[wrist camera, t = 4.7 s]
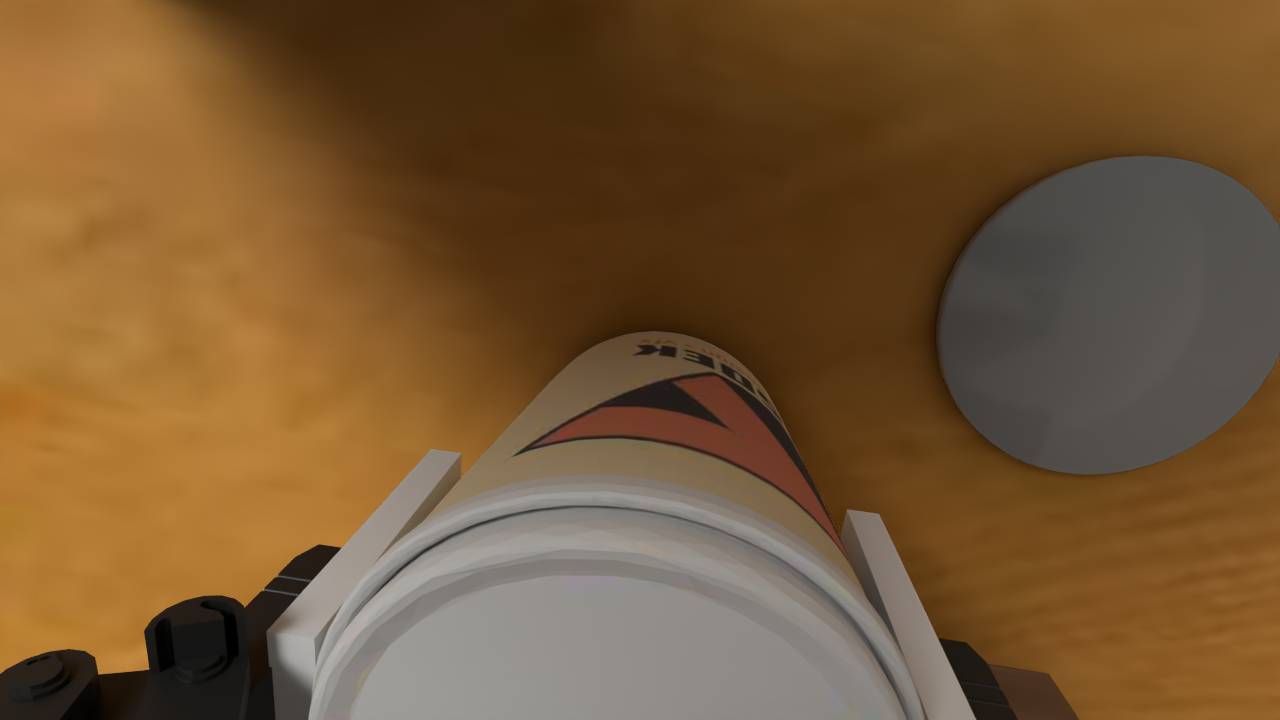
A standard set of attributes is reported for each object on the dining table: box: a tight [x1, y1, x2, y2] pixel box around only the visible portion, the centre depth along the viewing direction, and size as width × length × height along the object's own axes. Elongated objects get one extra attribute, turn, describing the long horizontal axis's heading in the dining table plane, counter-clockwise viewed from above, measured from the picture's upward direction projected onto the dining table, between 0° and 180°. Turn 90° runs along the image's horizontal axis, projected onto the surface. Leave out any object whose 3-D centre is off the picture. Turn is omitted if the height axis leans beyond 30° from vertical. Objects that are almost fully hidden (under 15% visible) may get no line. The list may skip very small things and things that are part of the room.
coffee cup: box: [308, 331, 925, 720], centre depth 15 cm, size 9×9×12 cm
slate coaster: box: [936, 156, 1280, 475], centre depth 19 cm, size 9×9×1 cm
